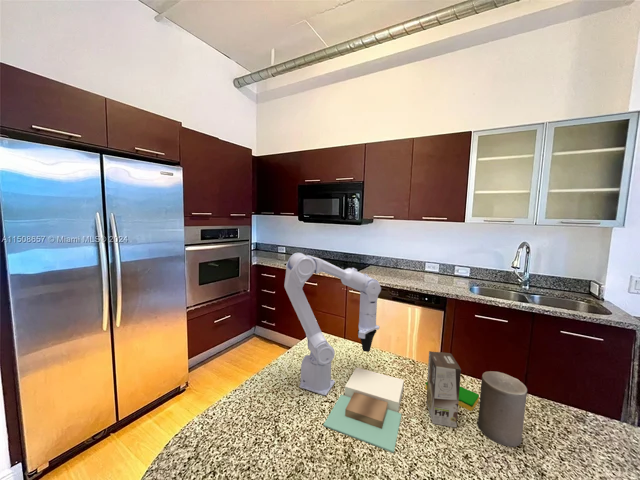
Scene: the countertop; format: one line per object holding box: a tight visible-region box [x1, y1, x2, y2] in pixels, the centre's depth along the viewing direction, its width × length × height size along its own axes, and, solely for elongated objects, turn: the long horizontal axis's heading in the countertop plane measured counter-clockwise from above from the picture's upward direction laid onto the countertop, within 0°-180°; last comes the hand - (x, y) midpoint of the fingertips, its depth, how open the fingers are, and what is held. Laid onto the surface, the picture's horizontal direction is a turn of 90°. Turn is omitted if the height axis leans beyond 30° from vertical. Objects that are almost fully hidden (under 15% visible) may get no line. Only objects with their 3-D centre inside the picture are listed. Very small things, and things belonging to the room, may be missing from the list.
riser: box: [344, 367, 405, 413], centre depth 83 cm, size 16×12×3 cm
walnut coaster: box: [345, 392, 388, 429], centre depth 74 cm, size 10×8×2 cm
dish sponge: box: [424, 381, 480, 412], centre depth 83 cm, size 7×14×2 cm, turn 44°
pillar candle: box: [477, 370, 528, 448], centre depth 68 cm, size 10×10×15 cm
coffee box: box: [426, 351, 462, 428], centre depth 74 cm, size 9×6×16 cm
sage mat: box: [322, 394, 403, 454], centre depth 71 cm, size 18×14×1 cm
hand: (366, 350), depth 91 cm, fingers closed
